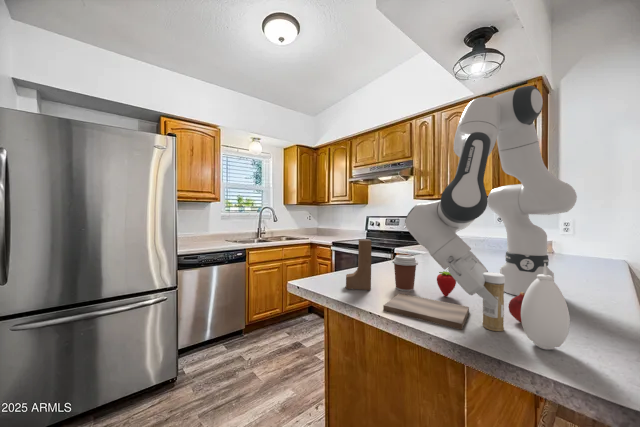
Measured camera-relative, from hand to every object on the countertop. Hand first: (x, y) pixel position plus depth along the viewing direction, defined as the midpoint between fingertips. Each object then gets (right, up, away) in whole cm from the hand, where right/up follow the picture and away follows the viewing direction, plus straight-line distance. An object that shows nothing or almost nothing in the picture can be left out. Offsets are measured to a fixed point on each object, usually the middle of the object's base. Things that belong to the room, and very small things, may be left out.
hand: (496, 298), depth 64 cm
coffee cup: (-12, -7, +32) cm, 35 cm away
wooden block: (-29, -7, +32) cm, 44 cm away
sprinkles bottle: (-1, -8, 0) cm, 8 cm away
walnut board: (-13, -7, +11) cm, 18 cm away
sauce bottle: (+4, -8, -9) cm, 12 cm away
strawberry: (-1, -7, +24) cm, 25 cm away
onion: (+9, -8, +3) cm, 12 cm away
